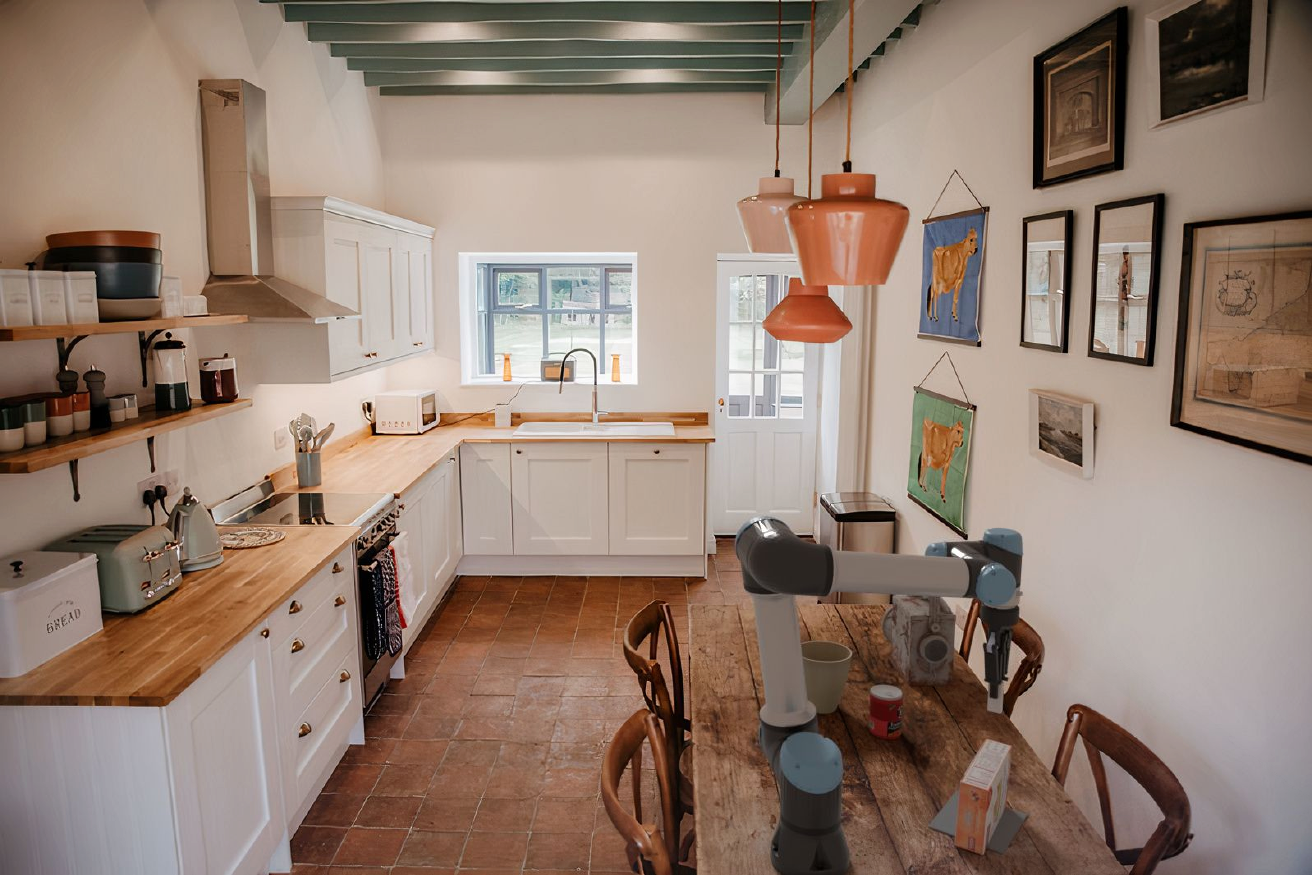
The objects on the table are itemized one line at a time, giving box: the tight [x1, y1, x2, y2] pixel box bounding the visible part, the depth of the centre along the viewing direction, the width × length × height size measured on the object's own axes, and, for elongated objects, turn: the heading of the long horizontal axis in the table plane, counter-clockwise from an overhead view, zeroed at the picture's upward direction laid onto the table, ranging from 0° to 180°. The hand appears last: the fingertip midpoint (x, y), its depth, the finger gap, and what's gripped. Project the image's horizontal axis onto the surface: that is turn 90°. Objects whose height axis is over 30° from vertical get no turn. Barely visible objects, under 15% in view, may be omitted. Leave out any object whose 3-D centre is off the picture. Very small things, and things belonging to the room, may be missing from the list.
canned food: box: [869, 684, 904, 740], centre depth 219 cm, size 8×8×11 cm
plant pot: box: [801, 640, 853, 715], centre depth 233 cm, size 15×15×16 cm
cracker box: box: [954, 738, 1013, 856], centre depth 179 cm, size 14×6×21 cm
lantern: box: [880, 595, 957, 687], centre depth 255 cm, size 16×27×30 cm, turn 2°
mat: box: [928, 790, 1028, 855], centre depth 182 cm, size 16×15×1 cm
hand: (994, 710), depth 185 cm, fingers closed
